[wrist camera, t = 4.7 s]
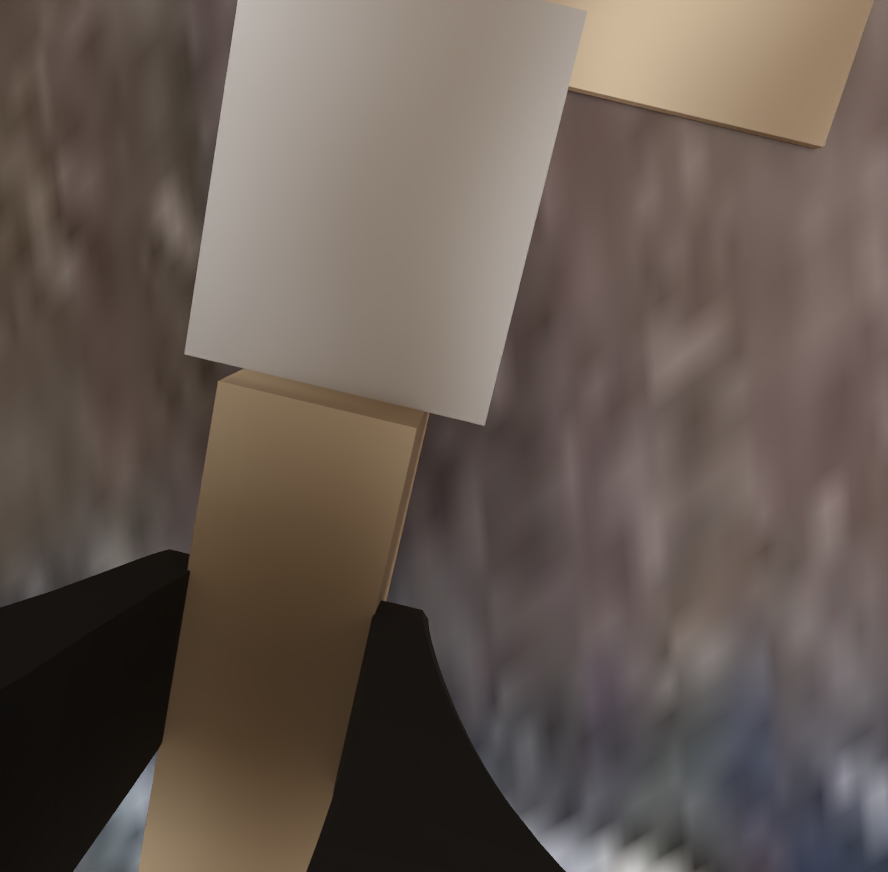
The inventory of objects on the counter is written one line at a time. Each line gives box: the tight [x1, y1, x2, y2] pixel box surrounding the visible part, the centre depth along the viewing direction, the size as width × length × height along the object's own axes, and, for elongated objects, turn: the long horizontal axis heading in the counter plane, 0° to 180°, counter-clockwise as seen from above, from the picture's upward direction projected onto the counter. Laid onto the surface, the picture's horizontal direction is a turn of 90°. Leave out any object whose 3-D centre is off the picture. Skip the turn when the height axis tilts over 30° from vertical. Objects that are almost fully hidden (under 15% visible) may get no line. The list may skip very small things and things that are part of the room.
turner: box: [138, 0, 587, 872], centre depth 11 cm, size 4×14×3 cm, turn 167°
